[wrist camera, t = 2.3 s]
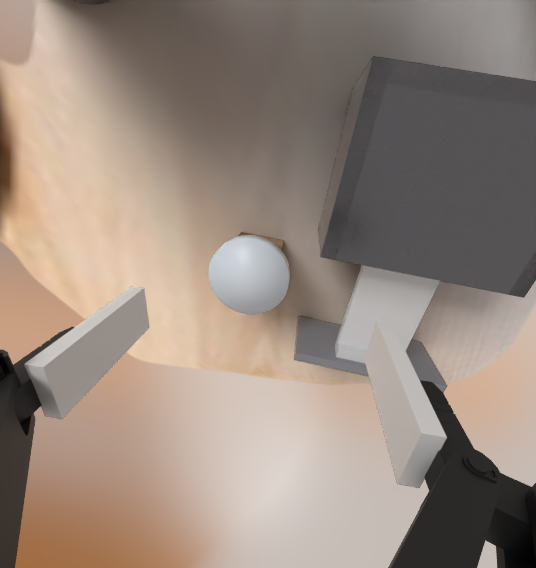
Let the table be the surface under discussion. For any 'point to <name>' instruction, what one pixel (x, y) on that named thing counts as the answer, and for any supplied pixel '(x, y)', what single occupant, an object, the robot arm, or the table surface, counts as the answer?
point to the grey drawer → (371, 324)
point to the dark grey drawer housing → (436, 177)
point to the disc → (249, 274)
